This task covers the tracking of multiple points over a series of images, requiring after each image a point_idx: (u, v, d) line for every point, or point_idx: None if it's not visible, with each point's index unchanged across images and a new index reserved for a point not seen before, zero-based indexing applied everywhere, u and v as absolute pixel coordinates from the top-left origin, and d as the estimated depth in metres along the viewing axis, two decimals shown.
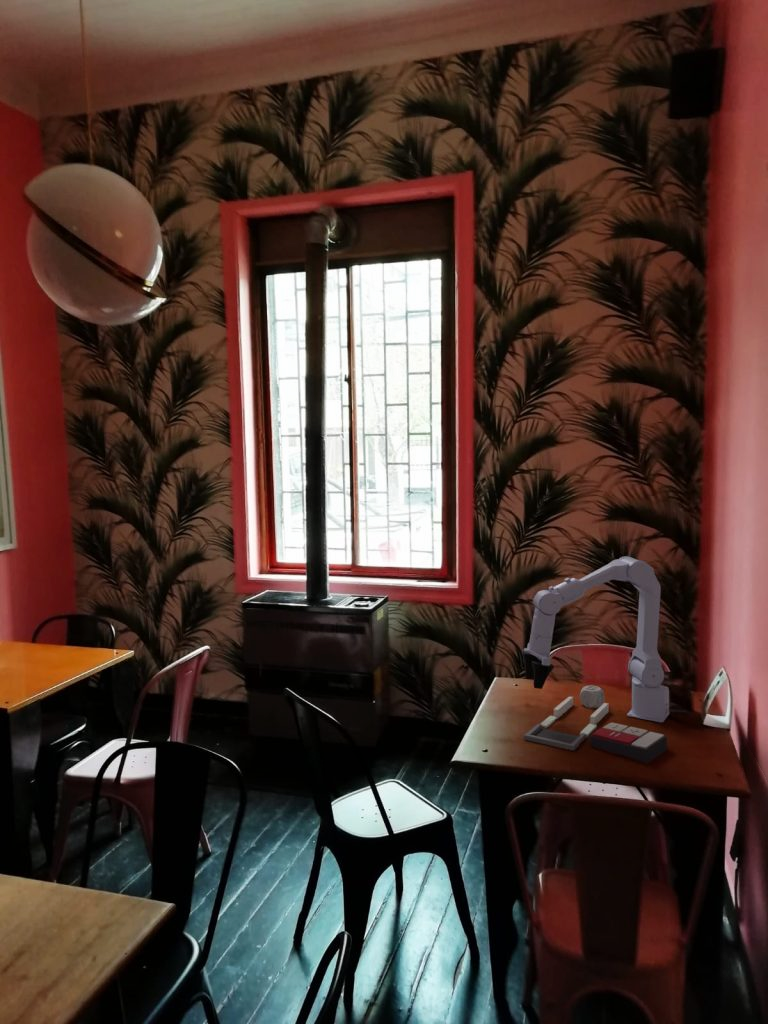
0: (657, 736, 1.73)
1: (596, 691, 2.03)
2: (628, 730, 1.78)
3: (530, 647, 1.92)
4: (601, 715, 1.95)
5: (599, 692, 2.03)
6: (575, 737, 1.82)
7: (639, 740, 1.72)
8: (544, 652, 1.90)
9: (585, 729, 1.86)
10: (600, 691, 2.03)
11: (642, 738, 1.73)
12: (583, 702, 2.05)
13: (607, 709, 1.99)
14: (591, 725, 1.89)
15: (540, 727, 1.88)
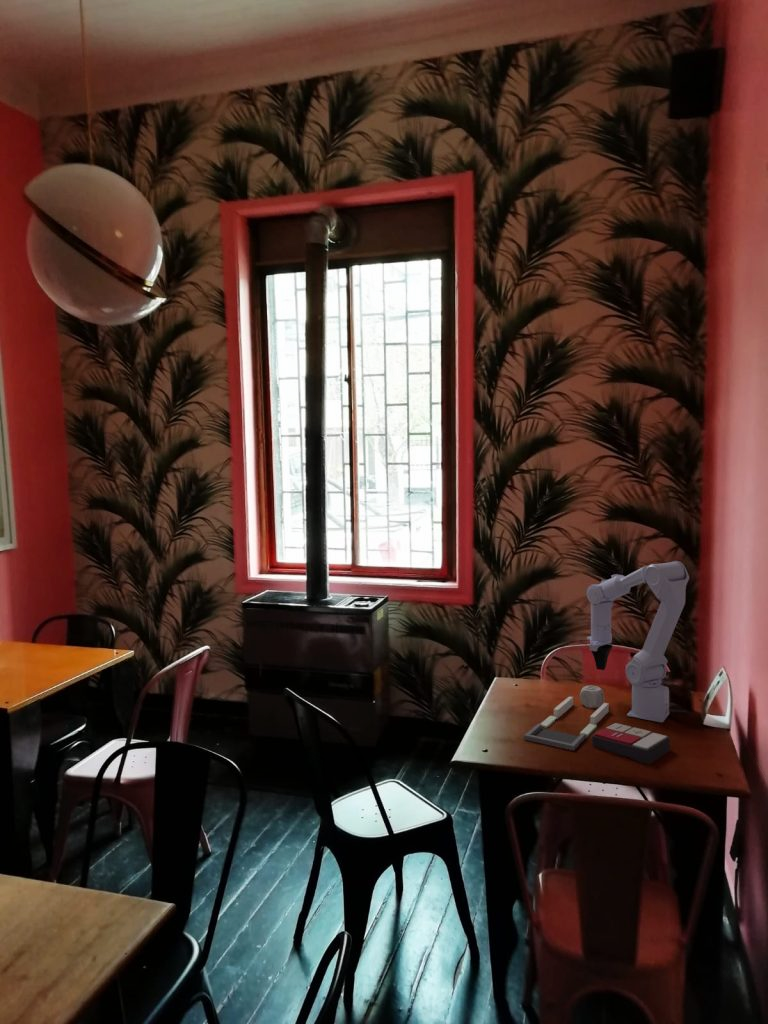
0: (660, 737, 1.73)
1: (596, 691, 2.03)
2: (631, 731, 1.77)
3: (591, 635, 2.11)
4: (601, 715, 1.95)
5: (599, 692, 2.03)
6: (575, 737, 1.82)
7: (641, 741, 1.71)
8: (600, 640, 2.08)
9: (585, 729, 1.86)
10: (600, 691, 2.03)
11: (644, 739, 1.72)
12: (583, 702, 2.05)
13: (607, 709, 1.99)
14: (591, 725, 1.89)
15: (540, 727, 1.88)
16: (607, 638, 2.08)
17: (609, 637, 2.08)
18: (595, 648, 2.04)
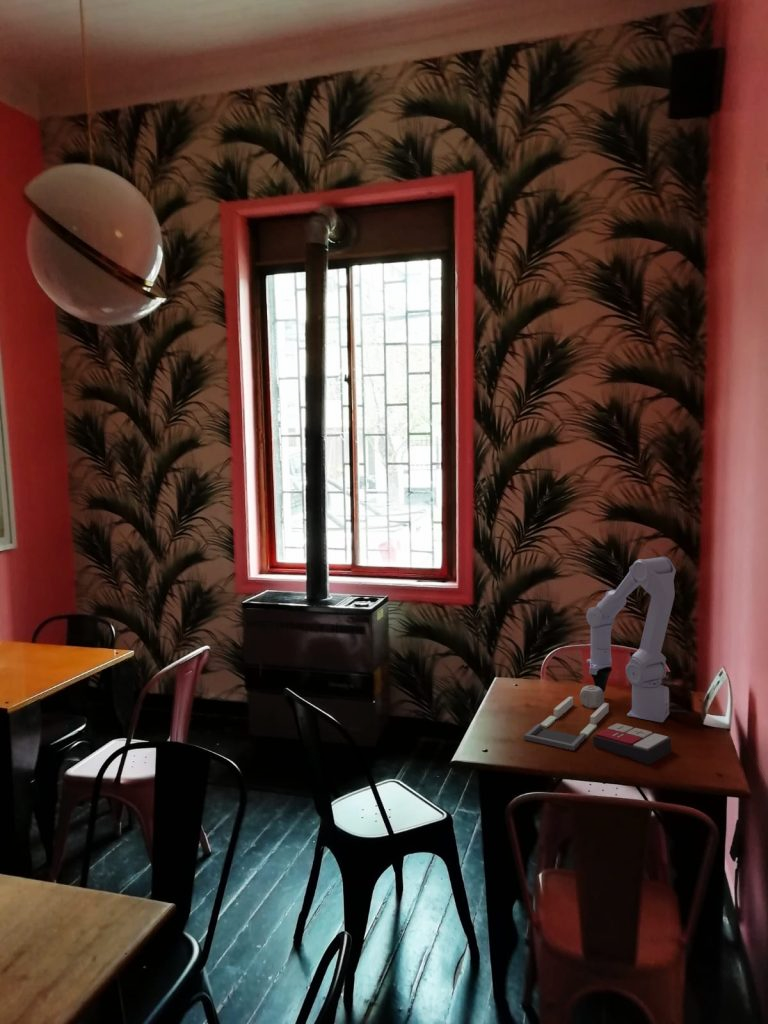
0: (661, 738, 1.72)
1: (596, 691, 2.03)
2: (632, 731, 1.77)
3: None
4: (601, 715, 1.95)
5: (599, 692, 2.03)
6: (575, 737, 1.82)
7: (642, 741, 1.71)
8: (599, 663, 2.08)
9: (585, 729, 1.86)
10: (600, 691, 2.03)
11: (645, 739, 1.72)
12: (583, 702, 2.05)
13: (607, 709, 1.99)
14: (591, 725, 1.89)
15: (540, 727, 1.88)
16: (607, 661, 2.08)
17: (609, 660, 2.08)
18: (595, 671, 2.04)
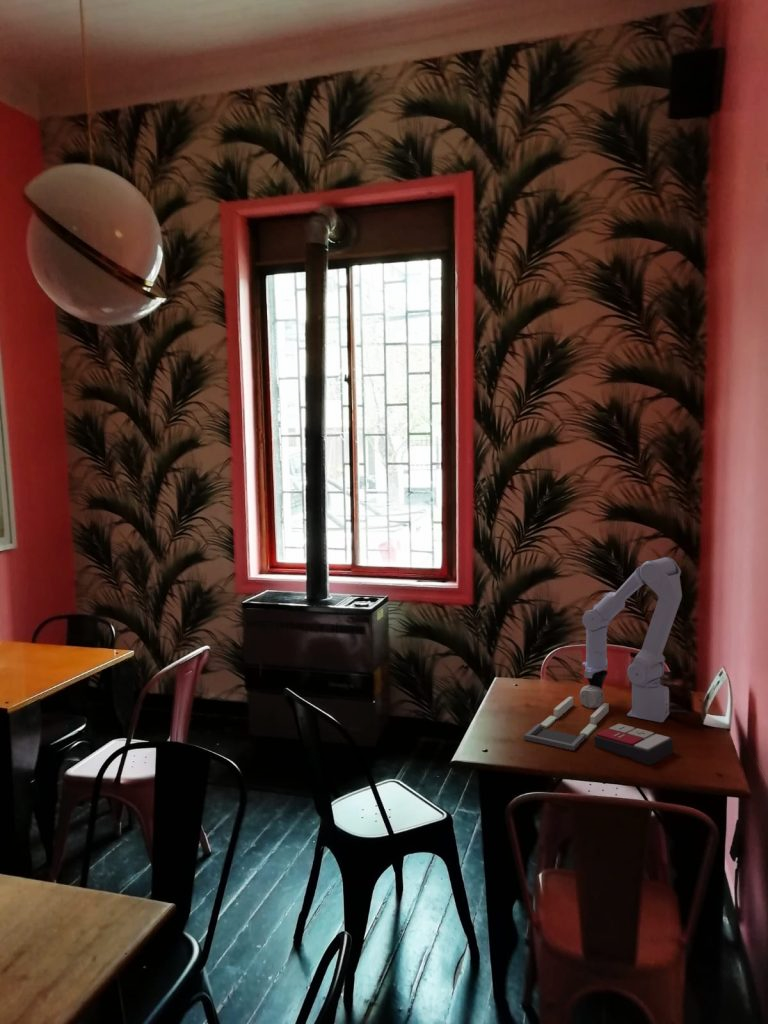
0: (662, 738, 1.72)
1: (596, 691, 2.03)
2: (634, 732, 1.77)
3: (586, 661, 2.09)
4: (601, 715, 1.95)
5: (599, 692, 2.03)
6: (575, 737, 1.82)
7: (643, 742, 1.71)
8: (595, 666, 2.05)
9: (585, 729, 1.86)
10: (600, 691, 2.03)
11: (646, 740, 1.72)
12: (583, 702, 2.04)
13: (607, 709, 1.99)
14: (591, 725, 1.89)
15: (540, 727, 1.88)
16: (602, 664, 2.05)
17: (604, 663, 2.05)
18: (590, 675, 2.01)
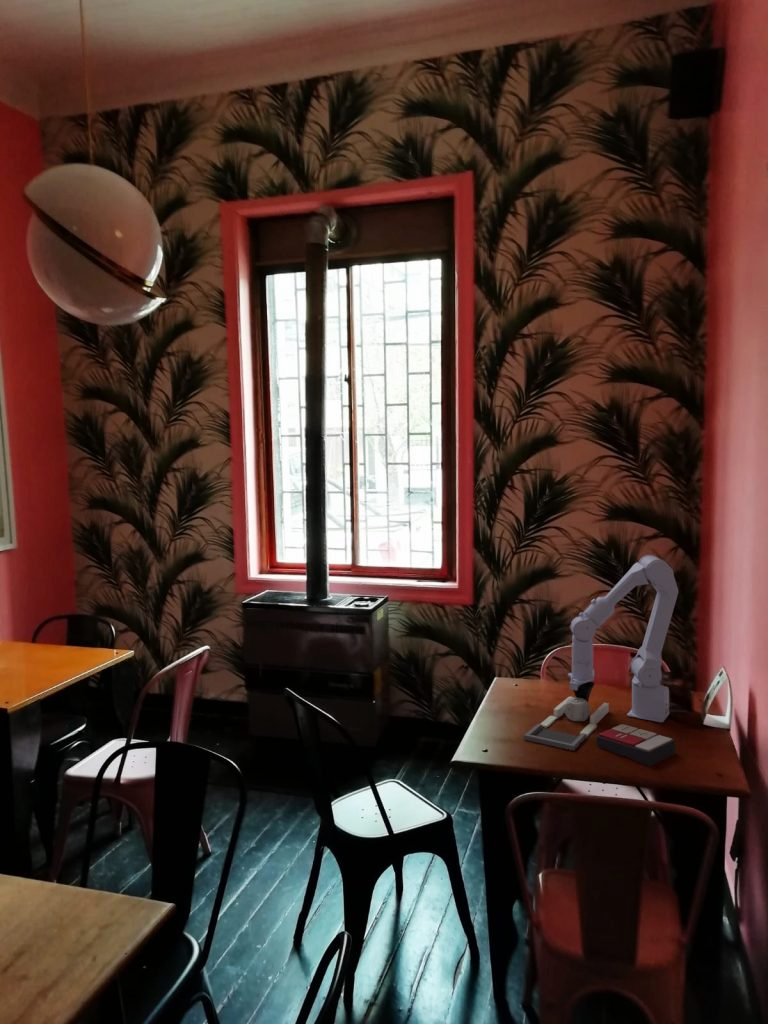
0: (664, 740, 1.71)
1: (581, 704, 1.93)
2: (636, 732, 1.76)
3: None
4: (601, 715, 1.95)
5: (584, 705, 1.93)
6: (575, 737, 1.82)
7: (644, 743, 1.70)
8: (581, 677, 1.95)
9: (585, 729, 1.86)
10: (585, 704, 1.94)
11: (648, 741, 1.71)
12: (568, 715, 1.95)
13: (607, 709, 1.99)
14: (591, 725, 1.89)
15: (540, 727, 1.88)
16: (589, 676, 1.95)
17: (591, 674, 1.96)
18: (575, 687, 1.92)
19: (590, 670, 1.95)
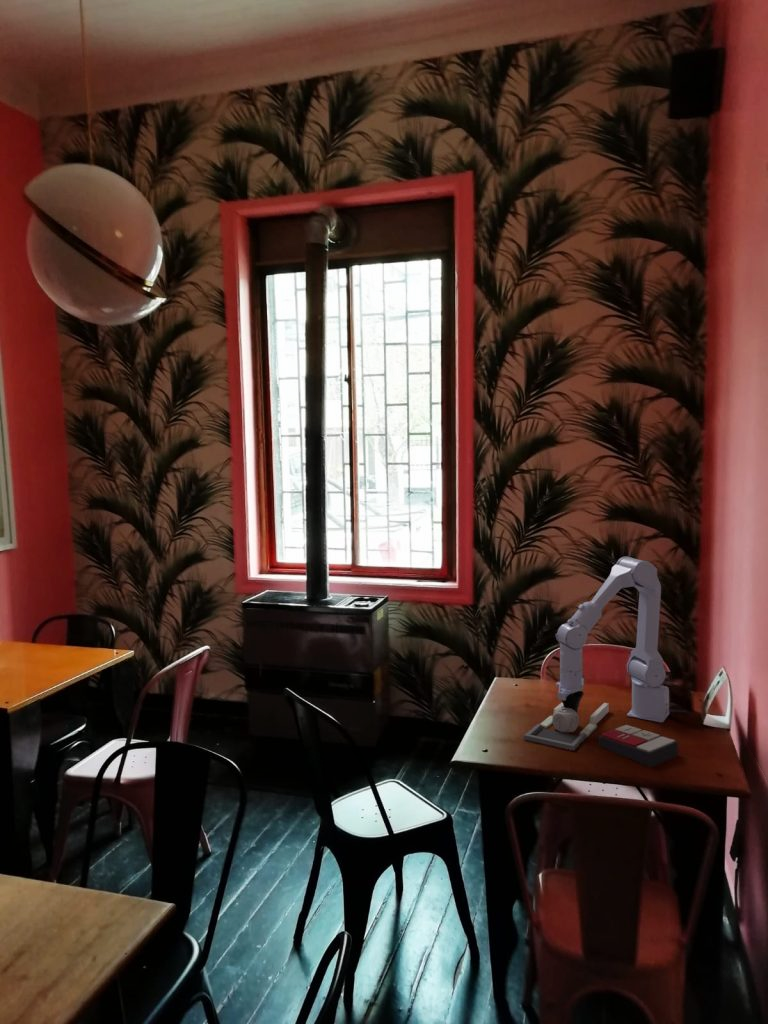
0: (667, 741, 1.70)
1: (569, 714, 1.85)
2: (639, 733, 1.76)
3: (560, 681, 1.91)
4: (601, 715, 1.95)
5: (573, 715, 1.86)
6: (575, 737, 1.82)
7: (646, 743, 1.69)
8: (569, 687, 1.88)
9: (585, 729, 1.86)
10: (574, 714, 1.86)
11: (650, 742, 1.70)
12: (556, 726, 1.87)
13: (607, 709, 1.99)
14: (591, 725, 1.89)
15: (540, 727, 1.88)
16: (577, 685, 1.88)
17: (580, 684, 1.88)
18: (563, 697, 1.84)
19: (579, 679, 1.88)
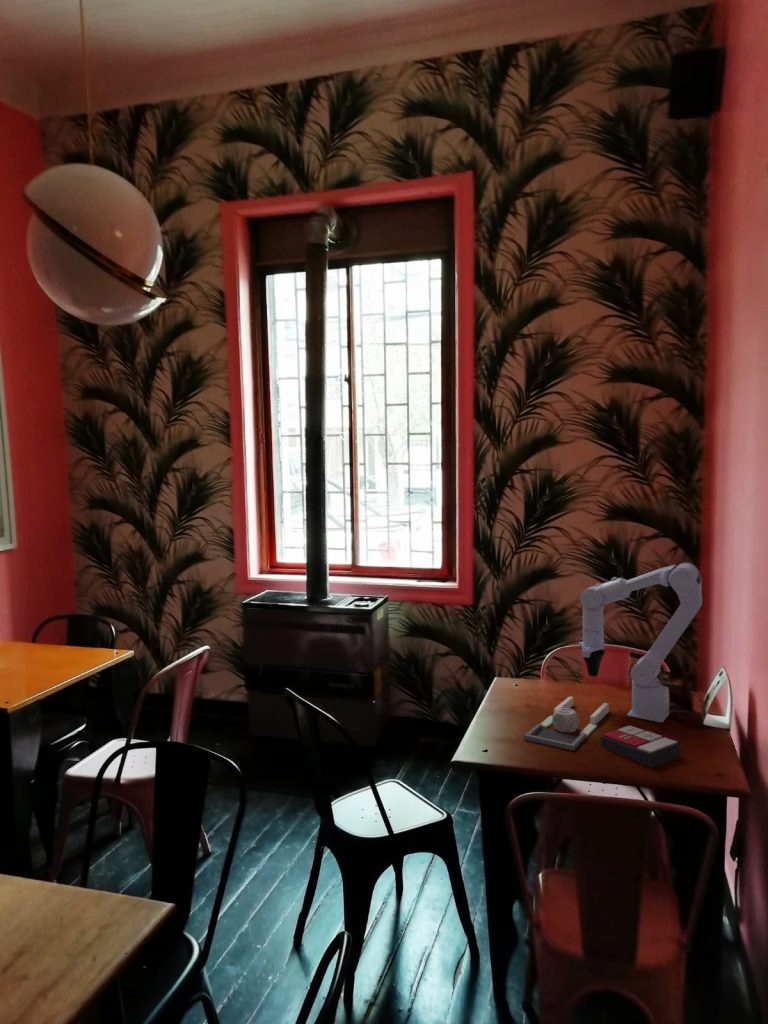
0: (669, 742, 1.70)
1: (569, 714, 1.85)
2: (642, 734, 1.75)
3: None
4: (601, 715, 1.95)
5: (573, 716, 1.86)
6: (575, 737, 1.82)
7: (647, 744, 1.69)
8: (592, 645, 2.00)
9: (585, 729, 1.86)
10: (574, 714, 1.86)
11: (652, 743, 1.70)
12: (556, 726, 1.87)
13: (607, 709, 1.99)
14: (591, 725, 1.89)
15: (540, 727, 1.88)
16: (599, 643, 2.00)
17: (602, 642, 2.01)
18: (587, 654, 1.96)
19: (601, 638, 2.00)
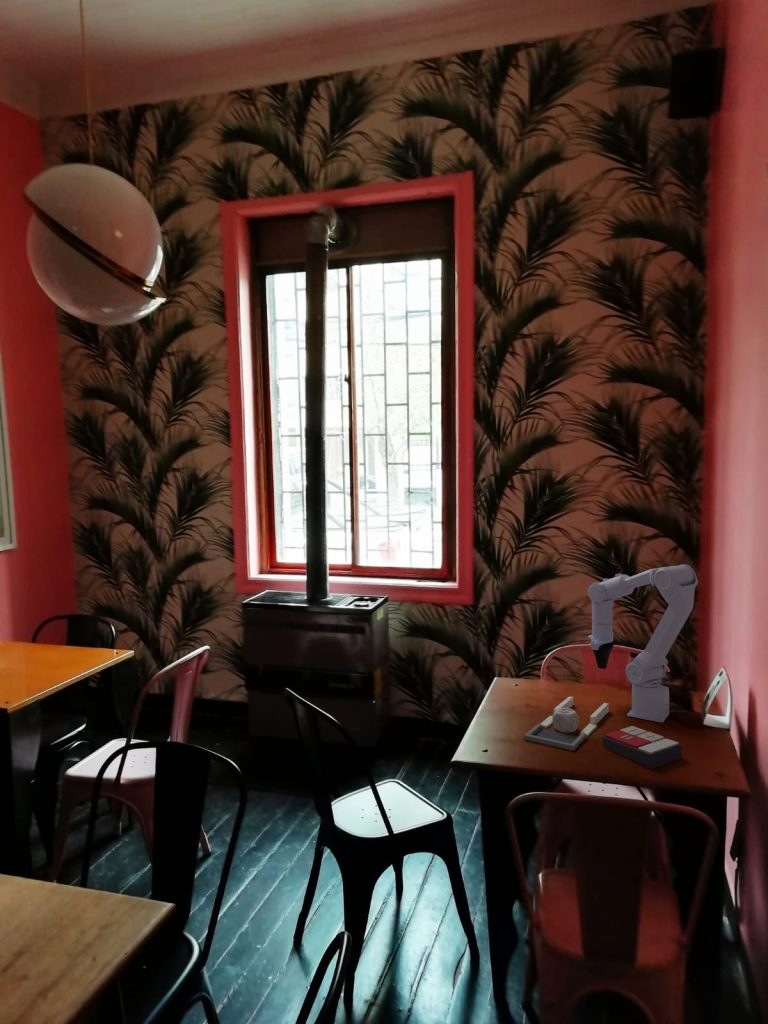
0: (670, 743, 1.69)
1: (569, 714, 1.85)
2: (644, 735, 1.75)
3: (592, 634, 2.09)
4: (601, 715, 1.95)
5: (573, 716, 1.86)
6: (575, 737, 1.82)
7: (648, 745, 1.69)
8: (601, 638, 2.05)
9: (585, 729, 1.86)
10: (574, 714, 1.86)
11: (653, 743, 1.69)
12: (556, 726, 1.87)
13: (607, 709, 1.99)
14: (591, 725, 1.89)
15: (540, 727, 1.88)
16: (608, 637, 2.05)
17: (610, 636, 2.06)
18: (596, 647, 2.02)
19: (610, 631, 2.06)
